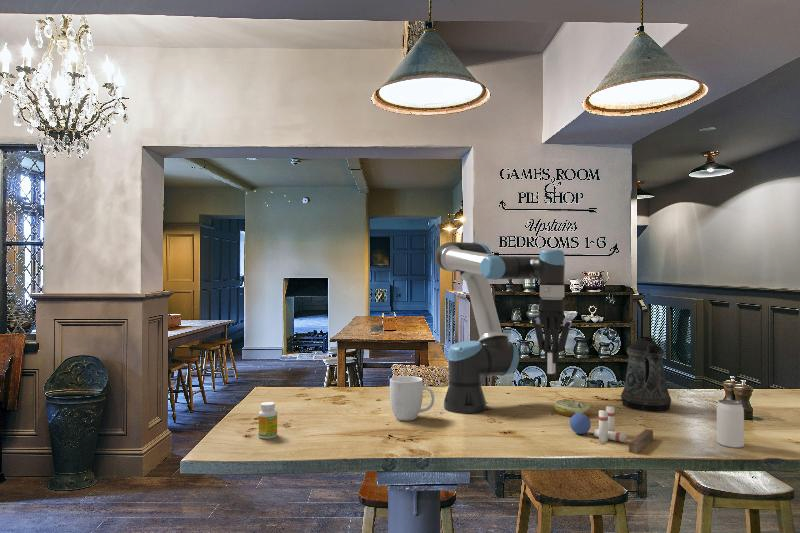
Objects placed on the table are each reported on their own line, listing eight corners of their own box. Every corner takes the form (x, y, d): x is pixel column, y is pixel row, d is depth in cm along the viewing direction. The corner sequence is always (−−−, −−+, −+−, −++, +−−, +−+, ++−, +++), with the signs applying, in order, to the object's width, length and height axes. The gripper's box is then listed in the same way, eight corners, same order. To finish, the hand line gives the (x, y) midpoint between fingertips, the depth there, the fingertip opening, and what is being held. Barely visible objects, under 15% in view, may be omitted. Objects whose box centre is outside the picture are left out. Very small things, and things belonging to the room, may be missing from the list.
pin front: (593, 432, 152) (623, 438, 147) (596, 426, 154) (625, 431, 148) (595, 438, 153) (625, 444, 148) (597, 432, 155) (627, 438, 149)
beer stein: (646, 399, 199) (646, 334, 199) (689, 412, 181) (688, 340, 181) (611, 402, 194) (610, 335, 194) (651, 416, 176) (651, 342, 176)
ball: (589, 426, 151) (579, 440, 154) (597, 420, 156) (587, 434, 158) (572, 412, 155) (562, 426, 157) (580, 406, 159) (571, 421, 161)
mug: (432, 413, 179) (432, 375, 179) (436, 422, 168) (436, 382, 168) (389, 413, 178) (389, 375, 178) (389, 423, 167) (390, 382, 167)
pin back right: (597, 441, 149) (597, 411, 150) (600, 438, 151) (600, 409, 151) (606, 442, 148) (606, 412, 148) (609, 440, 150) (609, 411, 150)
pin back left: (604, 436, 154) (604, 407, 154) (607, 434, 156) (607, 405, 156) (613, 437, 152) (613, 408, 153) (616, 435, 154) (615, 407, 154)
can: (711, 441, 149) (711, 399, 150) (732, 440, 150) (732, 398, 150) (727, 448, 143) (727, 405, 143) (749, 448, 144) (749, 404, 144)
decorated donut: (584, 420, 171) (584, 408, 171) (549, 415, 178) (549, 403, 178) (593, 412, 180) (593, 401, 180) (560, 407, 187) (560, 396, 187)
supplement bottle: (267, 440, 150) (267, 406, 150) (254, 437, 153) (254, 404, 153) (281, 435, 155) (281, 402, 155) (268, 432, 157) (268, 400, 158)
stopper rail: (628, 452, 140) (628, 442, 140) (645, 437, 153) (645, 429, 153) (636, 453, 139) (636, 444, 139) (653, 439, 151) (652, 430, 151)
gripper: (527, 298, 165) (526, 372, 165) (567, 300, 157) (566, 378, 157) (537, 297, 171) (537, 368, 171) (576, 298, 163) (576, 374, 163)
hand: (551, 373), depth 164 cm, fingers closed
